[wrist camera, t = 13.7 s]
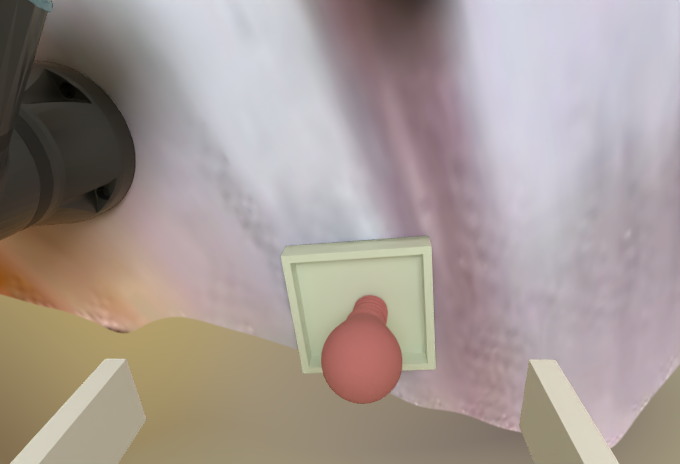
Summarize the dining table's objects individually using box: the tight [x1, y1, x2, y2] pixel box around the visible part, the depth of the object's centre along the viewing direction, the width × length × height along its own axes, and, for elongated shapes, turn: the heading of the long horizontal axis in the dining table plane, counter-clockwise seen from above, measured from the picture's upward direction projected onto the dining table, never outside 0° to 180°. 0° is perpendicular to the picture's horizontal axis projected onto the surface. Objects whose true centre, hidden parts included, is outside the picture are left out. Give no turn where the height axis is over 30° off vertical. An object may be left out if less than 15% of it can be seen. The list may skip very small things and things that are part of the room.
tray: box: [281, 236, 436, 374], centre depth 42 cm, size 15×15×2 cm
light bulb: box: [321, 295, 402, 404], centre depth 37 cm, size 7×7×12 cm
